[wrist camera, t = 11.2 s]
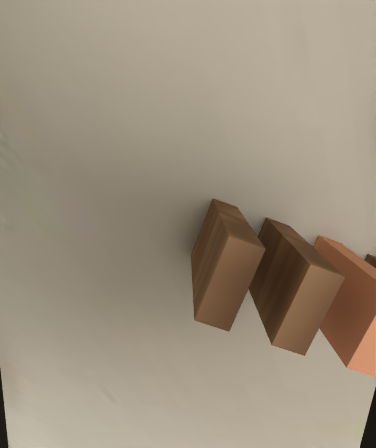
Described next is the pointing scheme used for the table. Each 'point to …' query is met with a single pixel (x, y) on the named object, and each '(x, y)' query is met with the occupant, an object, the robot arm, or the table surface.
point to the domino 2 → (292, 287)
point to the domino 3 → (351, 308)
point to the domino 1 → (223, 265)
